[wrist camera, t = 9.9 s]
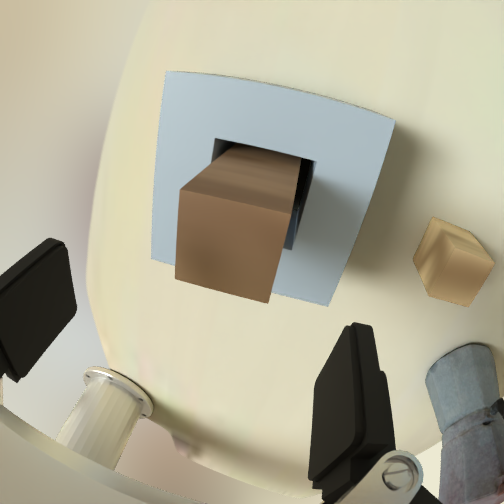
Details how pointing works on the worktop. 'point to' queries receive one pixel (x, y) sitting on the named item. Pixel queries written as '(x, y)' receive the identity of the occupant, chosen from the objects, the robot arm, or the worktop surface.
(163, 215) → the socket block
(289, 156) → the walnut peg long
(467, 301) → the oak peg short
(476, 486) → the moka pot
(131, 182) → the worktop surface
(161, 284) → the worktop surface
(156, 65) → the worktop surface
